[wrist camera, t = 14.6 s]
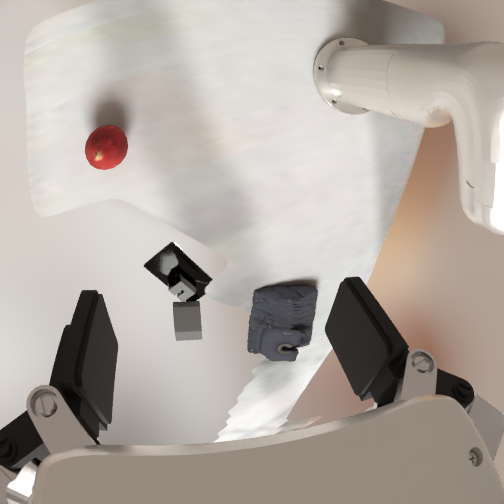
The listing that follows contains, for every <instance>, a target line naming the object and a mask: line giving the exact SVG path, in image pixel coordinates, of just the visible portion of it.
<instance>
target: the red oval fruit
mask: <svg viewBox="0 0 504 504" xmlns="http://www.w3.org/2000/svg"><path fill="white" fill-rule="evenodd" d="M127 149H128V143H127V138H126V136H125V134H124V132H123V131H121V130H120V129H119V128H118V127H115V126H111V125H107V126H102V127H99V128H97V129H96V130H95V131H94V132H92V133H91V134H90V136H89V138H88V140H87V142H86V146H85V154H86V158H87V160H88V161H89V163H90V165H92V166H93V167H95V168H97V169H102V170H107V169H111V168H114V167H115V166H117V165H118V164H120V163H121V162H122V161H123V159H124V158H125V156H126V154H127Z"/></svg>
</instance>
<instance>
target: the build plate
mask: <svg viewBox="0 0 504 504" xmlns="http://www.w3.org/2000/svg"><path fill="white" fill-rule="evenodd" d="M144 267H145V268H146V269H147V270H148V271H150V272H151V273H152V274H153V275H155V277H157V278H158V279H159V280H161V281H162V282H163V283H164V284H165V285H167V286H168V287H169V291H170V292H171V293H173V294H174V295H176V294H178V295H177V297H178V298H179V299H180V300H182V301H183V302H184V301H197V300H198V299H200V298H201V297H202V296H204V295H205V294H206V293H205V288H206V286H207V285H208V284H209V283H210V282H211V281H212V280H213V279H212V278H211V277H210V276H209V275H208V274H207V273H206V272H204V271H203V270H202V269H201V268H200V267H199V266H198V265H197V264H196V263H194V261H192V260H191V259H190V258H189V257H188V256H187V255H186V254H185V253H184V252H183V250H182V248H181V247H179V245H177V244H176V243H174V242H170V243H169V244H168V245H167V246H165V247H164V248H163V249H162V250H161V251H159V252H158V253H157V254H156V255H154V256H153V257H152V258H151V259H150V260H148V261H147V262H146V263H145V264H144Z"/></svg>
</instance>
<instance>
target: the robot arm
mask: <svg viewBox="0 0 504 504" xmlns="http://www.w3.org/2000/svg"><path fill="white" fill-rule="evenodd" d="M339 42H340V44H339ZM319 67H320V70H319ZM314 80H315V84H316V87H317V89H318V92H319V93H320V95H321V97H322V98H323V99H324V100H325V101H326V103H327V104H329V105H330V106H331V107H332V108H334V109H336V110H338V111H340V112H343V113H346V114H351V115H359V114H363V113H366V112H368V111H371V110H372V111H375V112H379V113H382V114H386V115H389V116H392V117H395V118H398V119H401V120H404V121H407V122H410V123H413V124H416V125H419V126H423V127H439V126H443V125H445V124H447V123H449V122H451V121H453V123H454V128H455V137H456V142H457V155H458V177H459V195H460V201H461V204H462V207H463V210H464V212H465V213H466V215H467V216H468V218H469V219H470V220H472V221H473V223H475V224H476V225H477V226H479V227H481V228H483V229H485V230H487V231H489V232H492V233H496V234H499V235H504V43H500V42H490V41H481V42H468V43H458V44H382V45H369V44H367V43H366V42H364V41H362V40H359V39H356V38H339V39H336V40H332V41H331V42H329V43H327V44H326V45H325V46H324V47H323V48H322V49H321V50H320V52H319V53H318V55H317V58H316V60H315V64H314ZM332 100H333V102H332ZM325 332H326V335H327V337H328V339H329V341H330V343H331V345H332V347H333V349H334V351H335V353H336V355H337V357H338V359H339V362H340V364H341V365H342V368H343V370H344V372H345V374H346V376H347V378H348V380H349V382H350V384H351V386H352V388H353V390H354V393H355V394H356V395H359V397H360V399H361V401H364V400H367V399H370V398H372V397H373V399H374V401H375V403H374V406H373V409H372V410H370V411H366V412H363V413H360V414H357V415H354V416H350V417H347V418H343V419H340V420H336V421H333V422H329V423H325V424H321V425H317V426H313V427H309V428H304V429H300V430H295V431H290V432H285V433H280V434H275V435H269V436H263V437H257V438H250V439H243V440H235V441H226V442H216V443H205V444H189V445H160V446H159V445H157V446H136V445H102V444H101V442H100V441H99V440H98V438H97V437H98V436H99V430H106V431H107V424H111V421H112V406H113V392H114V381H115V371H116V362H117V353H118V343H117V339H116V336H115V333H114V330H113V327H112V324H111V321H110V318H109V315H108V312H107V308H106V305H105V302H104V298H103V295H102V294H98V292H97V291H96V290H83V291H82V292H81V294H80V297H79V300H78V303H77V306H76V309H75V312H74V315H73V318H72V322H71V325H66V326H65V328H64V330H63V334H62V337H61V341H60V344H59V347H58V351H57V355H56V358H55V362H54V366H53V370H52V375H51V379H50V383H49V385H41V386H39V387H36V388H35V389H34V390H33V391H31V393H30V394H29V396H28V399H27V411H25V412H24V413H23V414H21V415H20V416H19V417H17V418H16V419H15V420H13V421H12V422H11V423H9V424H8V425H7V426H5V427H4V428H2V429H1V430H0V504H28V499H29V496H30V494H31V493H32V491H31V490H30V489H31V488H32V486H33V484H34V487H33V499H32V504H504V487H503V484H502V482H501V479H500V477H499V474H498V471H497V469H496V467H495V464H494V462H493V461H494V458H495V456H496V453H497V450H498V448H499V445H500V442H501V439H502V436H503V433H504V415H503V414H502V413H501V412H500V411H498V410H497V409H496V408H495V407H493V406H492V405H491V404H489V403H488V402H487V401H485V400H484V399H483V398H481V397H480V396H479V395H476V396H474V391H473V388H472V386H471V385H470V384H469V383H468V382H467V381H466V380H464V379H462V378H459V377H457V376H455V375H452V374H450V373H447V372H445V371H442V370H440V369H438V368H437V363H436V360H435V358H434V357H433V356H432V355H431V354H430V353H429V352H427V351H426V350H423V349H414V350H411V351H410V352H409V351H408V347H409V346H408V345H407V343H406V342H405V340H404V339H403V337H402V336H401V334H400V333H399V331H398V330H397V328H396V327H395V326H394V324H393V323H392V321H391V320H390V318H389V317H388V316H387V314H386V313H385V311H384V310H383V308H382V307H381V306H380V304H379V303H378V301H377V300H376V299H375V297H374V296H373V294H372V293H371V292H370V290H369V289H368V288H367V286H366V285H365V284H364V282H363V281H362V279H361V278H360V277H347V278H345V279H344V281H342V282H341V283H340V286H339V289H338V292H337V295H336V298H335V301H334V303H333V306H332V309H331V312H330V315H329V317H328V320H327V323H326V326H325Z"/></svg>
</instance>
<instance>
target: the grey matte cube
mask: <svg viewBox="0 0 504 504" xmlns="http://www.w3.org/2000/svg"><path fill="white" fill-rule="evenodd" d="M173 315H174V327H175V336H176V340H177V341H179V340H198V339H202V330H201V315H200V303H199V301H186V302H173Z"/></svg>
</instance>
